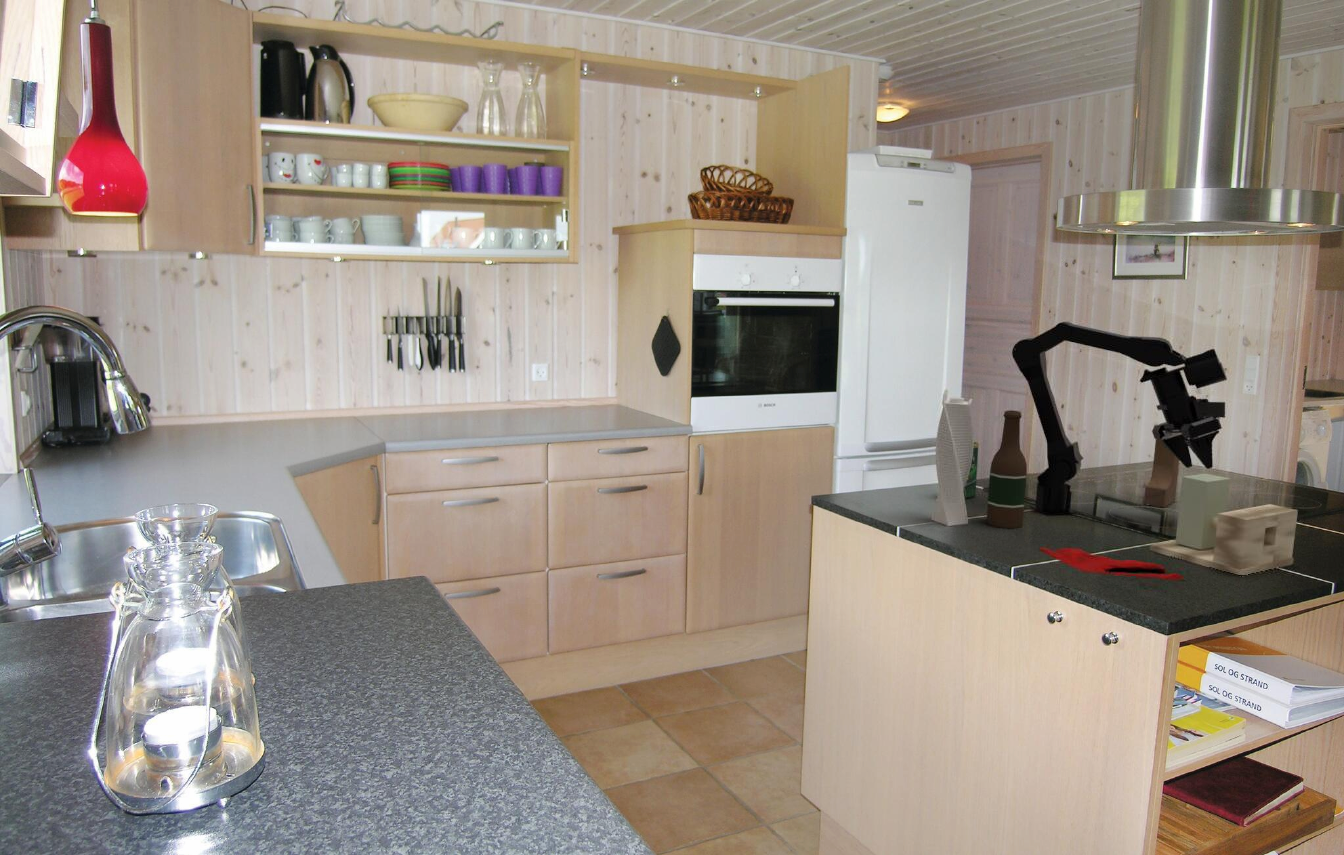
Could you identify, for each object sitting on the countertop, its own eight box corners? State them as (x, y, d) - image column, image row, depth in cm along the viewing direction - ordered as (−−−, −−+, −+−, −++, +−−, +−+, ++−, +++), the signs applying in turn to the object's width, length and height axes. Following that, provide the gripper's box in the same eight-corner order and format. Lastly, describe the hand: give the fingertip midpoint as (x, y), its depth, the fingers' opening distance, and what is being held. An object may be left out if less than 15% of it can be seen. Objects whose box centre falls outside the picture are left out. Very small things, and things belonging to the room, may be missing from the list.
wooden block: (1164, 508, 217) (1172, 430, 214) (1143, 504, 220) (1150, 427, 217) (1175, 501, 223) (1183, 425, 220) (1154, 498, 226) (1162, 423, 223)
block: (1175, 542, 183) (1182, 476, 181) (1197, 538, 186) (1204, 473, 184) (1221, 555, 175) (1229, 486, 173) (1243, 550, 178) (1251, 482, 176)
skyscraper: (922, 518, 204) (930, 388, 200) (950, 515, 207) (959, 387, 202) (947, 527, 197) (955, 393, 192) (975, 524, 200) (984, 392, 195)
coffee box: (952, 501, 220) (956, 445, 218) (943, 499, 222) (946, 443, 220) (976, 497, 224) (980, 442, 222) (966, 495, 227) (970, 440, 224)
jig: (1149, 550, 183) (1155, 498, 181) (1200, 540, 190) (1206, 490, 189) (1241, 576, 168) (1248, 520, 166) (1292, 564, 175) (1299, 510, 174)
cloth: (1019, 556, 180) (1019, 544, 180) (1062, 545, 188) (1063, 534, 187) (1152, 595, 159) (1154, 582, 159) (1195, 581, 167) (1197, 569, 166)
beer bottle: (1030, 524, 201) (1039, 411, 197) (1014, 531, 195) (1023, 415, 191) (994, 517, 206) (1002, 407, 202) (978, 523, 201) (986, 410, 197)
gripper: (1233, 380, 187) (1262, 455, 186) (1191, 386, 205) (1216, 454, 204) (1177, 398, 188) (1205, 473, 187) (1140, 403, 206) (1165, 471, 205)
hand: (1199, 467), depth 196 cm, fingers open, 9 cm apart
